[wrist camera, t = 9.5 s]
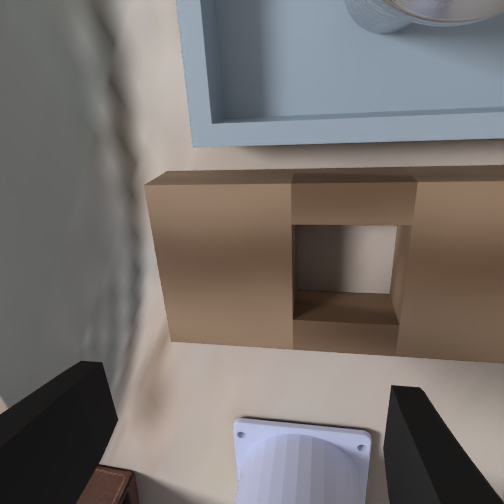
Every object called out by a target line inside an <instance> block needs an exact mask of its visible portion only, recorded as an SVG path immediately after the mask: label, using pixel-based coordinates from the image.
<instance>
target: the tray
mask: <svg viewBox="0 0 504 504" xmlns="http://www.w3.org/2000/svg"><path fill="white" fill-rule="evenodd" d="M176 6H177V15H178V23H179V32H180V41H181V49H182V58H183V66H184V75H185V84H186V92H187V101H188V109H189V118H190V127H191V135H192V144H193V147H225V146H259V145H293V144H326V143H360V142H394V141H428V140H462V139H495V138H504V13H502V14H499V15H497V16H494V17H492V18H489V19H485V20H482V21H478V22H475V23H471V24H465V25H458V26H428V25H421V24H416V23H412V24H410V25H408V26H407V27H405V28H403V29H401V30H399V31H396V32H393V33H387V34H378V33H373V32H369V31H367V30H365V29H363V28H362V27H360V26H359V25H358V24H357V23H356V22H355V21H354V20H353V19H352V17H351V16H350V14H349V12H348V10H347V8H346V5H345V1H344V0H176Z"/></svg>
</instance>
